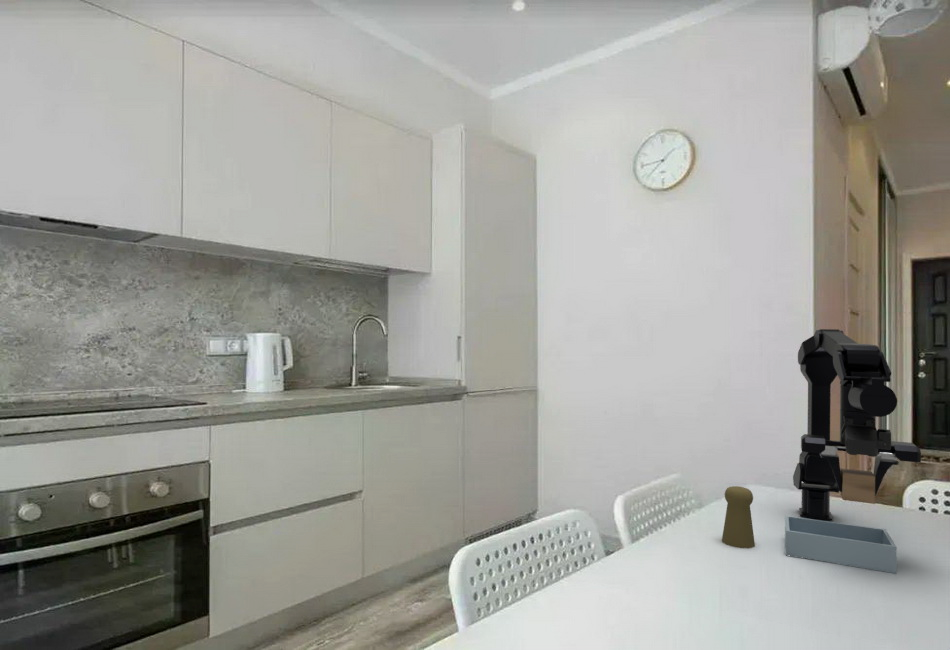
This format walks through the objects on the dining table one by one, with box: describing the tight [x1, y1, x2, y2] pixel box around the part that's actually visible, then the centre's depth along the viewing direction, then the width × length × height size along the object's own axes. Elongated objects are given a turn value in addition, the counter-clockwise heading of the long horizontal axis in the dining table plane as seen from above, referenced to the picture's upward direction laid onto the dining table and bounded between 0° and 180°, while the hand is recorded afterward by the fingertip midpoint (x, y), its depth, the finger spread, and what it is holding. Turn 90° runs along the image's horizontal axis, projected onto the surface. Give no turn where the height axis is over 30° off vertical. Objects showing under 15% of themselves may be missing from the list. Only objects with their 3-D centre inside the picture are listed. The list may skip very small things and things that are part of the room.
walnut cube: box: [840, 467, 876, 505], centre depth 112 cm, size 5×5×5 cm
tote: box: [784, 515, 897, 574], centre depth 113 cm, size 11×17×5 cm, turn 63°
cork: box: [721, 485, 756, 549], centre depth 119 cm, size 6×6×11 cm
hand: (857, 493), depth 112 cm, fingers closed on walnut cube, 5 cm apart
